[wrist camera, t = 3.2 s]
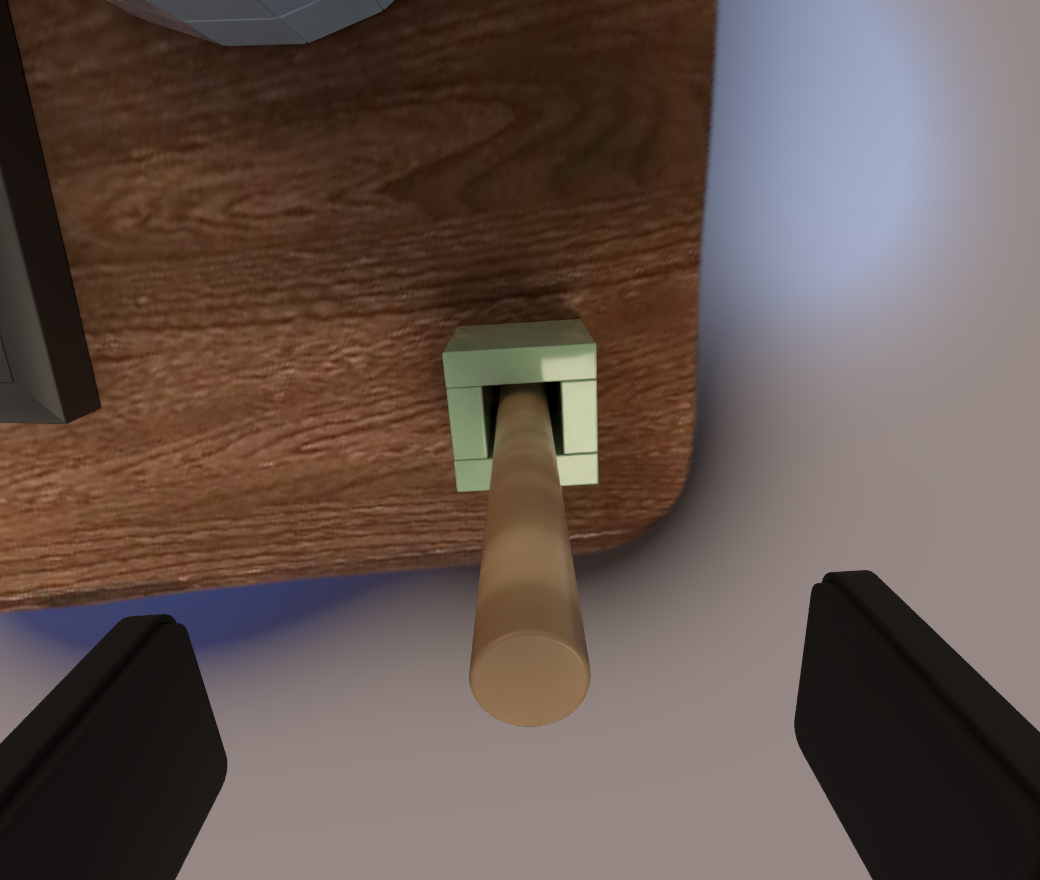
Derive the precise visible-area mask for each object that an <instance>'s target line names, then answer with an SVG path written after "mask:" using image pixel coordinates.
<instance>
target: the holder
mask: <svg viewBox="0 0 1040 880" xmlns="http://www.w3.org/2000/svg"><path fill="white" fill-rule="evenodd" d="M442 357H443V366H444V376H445V385H446V388H447V390H446V393H447V402H448V411H449V420H450V430H451V439H452V448H453V457H454V459H455V460H454V467H455V477H456V486H457V491H458V492H463V491H480V490H489V488H490V479H491V469H492V460H493V451H494V442H495V432H496V423H497V415H493V414H494V412H493V399H492V387H491V385H505V384H521V383H538V382H554V396H555V411H551V412H549V414H550V420H551V427H552V433H553V439H554V446H555V452H556V458H557V464H558V471H559V477H560V483H561V486H569V485H586V484H598V482H599V477H598V414H597V380H596V378H597V351H596V343H595V341H594V340H593V338H592V336H591V335H590V333H589V332H588V330H587V328H586V327H585V325H584V324H583V322H582V320H581V319H573V320H556V321H540V322H524V323H508V324H492V325H476V326H460V327H457V328H456V330H455V332H454V334H453V335H452V337H451V339H450V341H449V342H448V344H447V346H446V348H445V349H444V351H443V353H442Z"/></svg>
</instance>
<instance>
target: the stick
mask: <svg viewBox="0 0 1040 880" xmlns="http://www.w3.org/2000/svg"><path fill="white" fill-rule="evenodd" d="M590 679H591V673H590V665H589V659H588V653H587V647H586V640H585V635H584V628H583V622H582V615H581V609H580V603H579V597H578V590H577V584H576V578H575V571H574V565H573V559H572V552H571V546H570V540H569V534H568V527H567V521H566V515H565V508H564V502H563V496H562V490H561V483H560V477H559V471H558V464H557V458H556V452H555V446H554V439H553V433H552V427H551V420H550V414H549V408H548V402H547V395H546V389H545V383H544V382H538V383H521V384H505V385H501V386H500V395H499V405H498V414H497V423H496V432H495V442H494V451H493V460H492V469H491V479H490V488H489V497H488V506H487V515H486V525H485V534H484V543H483V552H482V562H481V571H480V580H479V589H478V599H477V608H476V617H475V627H474V636H473V645H472V654H471V663H470V672H469V681H470V686H471V690H472V692H473V695H474V697H475V698H476V700H477V702H478V703H479V705H480V706H481V707H482V708H483V709H484V710H485V711H486V712H487V713H489V714H490V715H491V716H493V717H494V718H496V719H498V720H500V721H502V722H505V723H508V724H512V725H516V726H524V727H535V726H543V725H548V724H551V723H554V722H557V721H559V720H561V719H563V718H565V717H566V716H568V715H569V714H571V713H572V712H573V711H574V710H576V708H577V707H578V706H579V705H580V704H581V702H582V701H583V699H584V698H585V696H586V694H587V691H588V689H589V685H590Z"/></svg>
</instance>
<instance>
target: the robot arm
mask: <svg viewBox="0 0 1040 880" xmlns="http://www.w3.org/2000/svg"><path fill="white" fill-rule="evenodd" d="M794 726H795V734H796V738H797V741H798V744H799V747H800V749H801V751H802V753H803V755H804V756H805V758H806V760H807V762H808V763H809V765H810V767H811V769H812V771H813V772H814V774H815V776H816V778H817V780H818V782H819V783H820V785H821V787H822V789H823V791H824V792H825V794H826V796H827V798H828V800H829V802H830V803H831V805H832V807H833V809H834V810H835V812H836V814H837V816H838V818H839V820H840V821H841V823H842V825H843V827H844V828H845V830H846V832H847V834H848V836H849V838H850V839H851V841H852V843H853V845H854V847H855V849H856V850H857V852H858V854H859V856H860V858H861V859H862V861H863V863H864V865H865V867H866V868H867V870H868V872H869V874H870V876H871V878H872V879H873V880H1040V732H1039V731H1038V730H1037V729H1036V728H1035V727H1034V726H1033V725H1031V724H1030V722H1028V721H1027V720H1026V719H1025V718H1024V717H1023V716H1022V715H1021V714H1020V713H1019V712H1018V711H1017V710H1016V709H1015V708H1014V707H1013V706H1012V705H1011V704H1010V703H1009V702H1008V701H1007V700H1006V699H1005V698H1004V697H1003V696H1001V695H1000V694H999V693H998V692H997V691H996V690H995V689H994V688H993V687H992V686H991V685H990V684H989V683H988V682H987V681H986V680H985V679H984V678H983V677H982V676H981V675H980V674H978V673H977V671H976V670H974V669H973V668H972V667H971V666H970V665H969V664H968V663H967V662H966V661H965V660H964V659H963V658H962V657H961V656H960V655H959V654H958V653H957V652H956V651H955V650H954V649H953V648H951V646H949V645H948V644H947V643H946V642H945V641H944V640H943V639H942V638H941V637H940V636H939V635H938V634H937V633H936V632H935V631H934V630H933V629H932V628H931V627H930V626H929V625H928V624H927V623H926V622H925V621H924V620H923V619H921V618H920V617H919V616H918V615H917V614H916V613H915V612H914V611H913V610H912V609H911V608H910V607H909V606H908V605H907V604H906V603H905V602H904V601H903V600H902V599H901V598H900V597H899V596H898V595H897V594H895V593H894V592H893V591H892V590H891V589H890V588H889V587H888V586H887V585H886V584H885V583H884V582H883V581H882V580H881V579H880V578H879V577H878V576H877V575H875V574H874V573H873V572H871V571H868V570H861V571H844V572H830V573H827V574H826V575H825V576H824V578H823V580H822V583H817V584H815V585H814V586H813V588H812V592H811V598H810V605H809V613H808V621H807V628H806V636H805V644H804V652H803V659H802V666H801V674H800V682H799V690H798V698H797V706H796V713H795V720H794ZM226 773H227V757H226V753H225V750H224V747H223V743H222V740H221V737H220V734H219V731H218V727H217V724H216V721H215V718H214V715H213V711H212V708H211V705H210V702H209V699H208V695H207V692H206V689H205V686H204V682H203V680H202V677H201V673H200V670H199V667H198V663H197V660H196V657H195V654H194V651H193V647H192V644H191V641H190V638H189V634H188V632H187V630H186V627H185V626H184V625H183V624H179V623H176V621H175V619H174V618H173V617H172V616H171V615H166V614H162V615H145V616H131V617H126V618H123V619H122V620H121V621H119V622H118V623H117V624H116V625H115V626H114V627H113V628H112V630H110V631H109V632H108V633H107V634H106V636H105V637H104V638H103V639H102V640H101V641H100V642H99V643H98V644H97V645H96V646H95V647H94V648H93V649H92V650H91V651H90V652H89V653H88V654H87V655H86V656H85V657H84V658H83V659H82V660H81V661H80V662H79V663H78V664H77V666H75V667H74V669H73V670H72V671H71V672H70V673H69V674H68V675H67V676H66V677H65V678H64V679H63V680H62V681H61V682H60V683H59V684H58V685H57V686H56V687H55V688H54V689H53V690H52V691H51V692H50V693H49V694H48V695H47V696H46V697H45V698H44V699H43V700H42V701H41V702H40V703H39V704H38V706H37V707H36V708H35V709H34V710H33V711H32V712H31V713H30V714H29V715H28V716H27V717H26V718H25V719H24V720H23V721H22V722H21V723H20V724H19V725H18V726H17V727H16V728H15V729H14V730H13V731H12V732H11V733H10V734H9V735H8V736H7V737H6V739H5V740H4V741H3V742H2V743H1V744H0V880H175V879H176V877H177V875H178V873H179V871H180V869H181V867H182V865H183V863H184V861H185V859H186V857H187V855H188V853H189V851H190V849H191V847H192V845H193V843H194V841H195V839H196V837H197V835H198V833H199V831H200V829H201V827H202V825H203V823H204V821H205V819H206V818H207V815H208V813H209V811H210V809H211V808H212V806H213V804H214V802H215V800H216V798H217V796H218V794H219V792H220V790H221V788H222V786H223V783H224V781H225V777H226Z"/></svg>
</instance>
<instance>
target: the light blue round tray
mask: <svg viewBox="0 0 1040 880" xmlns="http://www.w3.org/2000/svg"><path fill="white" fill-rule="evenodd" d="M107 1H108V2H110V3H112V4H114V5H116V6H118V7H120V8H122V9H123V10H125V11H127V12H129V13H131V14H133V15H135V16H137V17H139V18H141V19H143V20H146V21H149V22H152V23H155V24H158V25H161V26H164V27H167V28H170V29H173V30H176V31H179V32H182V33H185V34H189V35H192V36H195V37H198V38H201V39H204V40H207V41H210V42H213V43H216V44H219V45H222V46H223V45H225V46H247V45H280V44H305V43H306V42H307V43H310V42H312V41H315V40H317V39H319V38H322V37H324V36H326V35H329V34H331V33H333V32H336V31H338V30H340V29H342V28H345V27H347V26H349V25H352V24H354V23H356V22H359V21H361V20H363V19H366V18H368V17H370V16H372V15H375V14H377V13H379V12H381V11H382V9H383V10H384V9H386V8H387V7H388V6H389V5H390V4H391V3H392V2H393V1H394V0H107Z"/></svg>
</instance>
